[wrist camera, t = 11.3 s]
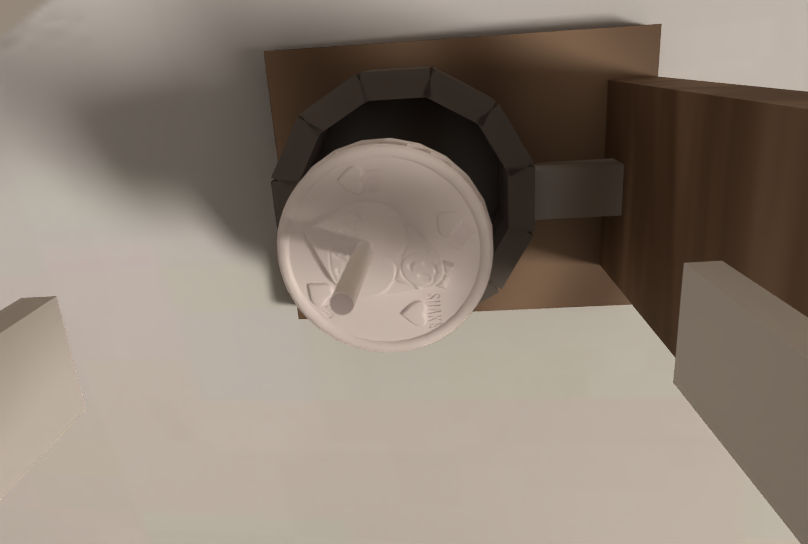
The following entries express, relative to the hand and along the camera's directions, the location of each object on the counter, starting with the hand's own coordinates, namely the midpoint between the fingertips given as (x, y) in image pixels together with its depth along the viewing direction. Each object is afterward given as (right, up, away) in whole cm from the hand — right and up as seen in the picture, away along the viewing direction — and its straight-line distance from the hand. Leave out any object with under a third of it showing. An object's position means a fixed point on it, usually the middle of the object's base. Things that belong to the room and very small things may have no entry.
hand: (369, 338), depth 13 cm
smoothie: (+1, +5, +14) cm, 15 cm away
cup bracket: (+3, +6, +15) cm, 17 cm away
